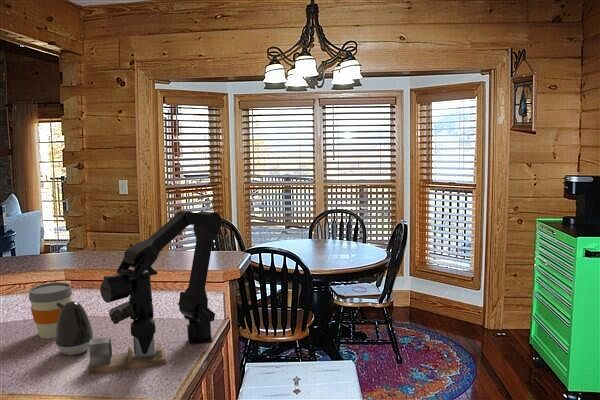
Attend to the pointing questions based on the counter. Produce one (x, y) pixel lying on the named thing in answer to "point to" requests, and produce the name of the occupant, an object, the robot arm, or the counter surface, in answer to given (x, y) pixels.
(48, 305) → the reusable coffee cup
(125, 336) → the counter surface
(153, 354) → the block
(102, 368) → the rail
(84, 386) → the counter surface
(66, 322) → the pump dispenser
